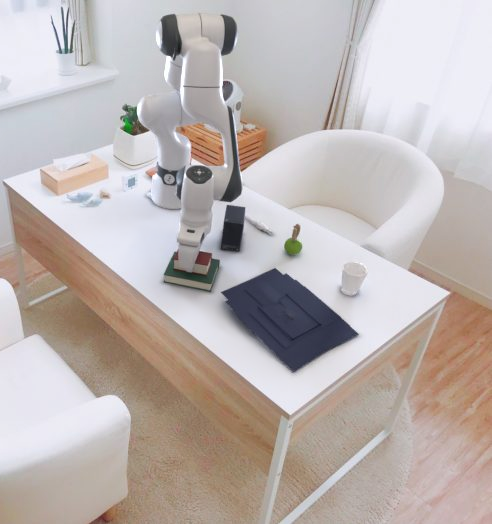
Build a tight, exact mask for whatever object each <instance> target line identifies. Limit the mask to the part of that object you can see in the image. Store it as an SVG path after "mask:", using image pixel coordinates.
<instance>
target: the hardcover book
mask: <svg viewBox="0 0 492 524" xmlns="http://www.w3.org/2000/svg"><path fill="white" fill-rule="evenodd" d="M176 252H177V251H174V252H173V254H172V256H171V257H170V260H169V262H168V264H167V266H166V268H165V270H164V272H163V276H164V279H163V284H164V283H165V284H170V285H173V286H179V287H183V288H189V289H193V290H199V291H204V292H209V293H211V292H212V291H213V290H212V289H213V286H214V284H215V281H216V277H217V275H218V272H219V270H220V263H221V260H220V259H218V258H213V257H212V262H211V266H210V269H209V272H208V274H207V276H204V275H199V274H194V273H189V272H183V271H178V270H173V268H174V257H175V255H176Z"/></svg>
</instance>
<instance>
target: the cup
mask: <svg viewBox="0 0 492 524" xmlns="http://www.w3.org/2000/svg"><path fill="white" fill-rule="evenodd" d="M367 275H368V267H366V265H364V264H363V262H362V263H361V262H357V261H347V262H344V263H342V271H341V289H340V290H341V291H340V292H341V293H342V294H344V295H345V296H351V297H352V296H355V295H357V292H358V291H359V290H360V288H361V287H362V285H363V283H364V281H365V279H366V277H367Z"/></svg>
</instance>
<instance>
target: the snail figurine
mask: <svg viewBox="0 0 492 524" xmlns="http://www.w3.org/2000/svg"><path fill="white" fill-rule="evenodd" d="M300 232H301V224H300V223H296V224H295V225H293V229H292V233H291V237H289V238H287V239H286V240H285V242H284V245H283V247H284V251H285V252H286V253H287V254H288V255H291V256H296V255H298V254H300V253H301V252H302V250H303V243H302V241H301V239H300V238H298V237H299V235H300Z"/></svg>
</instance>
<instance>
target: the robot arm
mask: <svg viewBox="0 0 492 524" xmlns="http://www.w3.org/2000/svg"><path fill="white" fill-rule="evenodd" d="M158 21H159V22H158V25H157V27H156V31H155V40H156V44H157V47H158V50H159V51H160V52H161V53H162V54H163V55H164V56H166V58H165V65H164V73H163V74H164V79H165V82H166V84H167V85H168V86H169V87H171V89H173V90H174V91H165V92H156V93H151V94H149V95H146V96H142V98H140V100H139V101H138V104H137V108H136V115H137V119H138V121H139V122H140V124H141V125H142V126H143V127H144V128H146V129H148V130H149V131H150V132H151V133H152V134H153V136H154V138H155V140H156V143H157V161H156V167H155V168H156V169H155V172H156V173H154V175H152V178H151V188H150V190H149V191H148V192H147V193H146V196H147V198H149V199H151V201H152V202H153V203H154V204H155V205H156V206H158V207H160V208H163V209H167V210H180V211H179V223H178V232H177V236H176V243H178V248H177V250H178V259H179V267H180V268H182V269H186V271H187V272H192V271H193V266H194V263H195V261H196V258H197V256H198V253H199V251H201V250H202V249H201V248H202V246H203V244H204V242H205V238H207V235H210V233H211V232H212V222H213V211H212V210H213V209H212V207H213V205H214V201H218V202H224V203H233V202H234V201H236V200H237V199H238V198H239V197H240V196H241V195H242V192H243V189H244V188H243V187H244V179H243V175H242V172H241V165H240V155H239V146H238V136H237V127H236V120H235V115H234V111H233V109H232V107H231V106H230V105H227V103H226V101H225V98H224V95H223V80H224V79H223V77H224V74H223V73H224V72H223V56H228V55H230V54H231V53H232V52H233V51H234V50H235V48H236V45H237V41H238V35H239V33H238V26H237V22H236V20H235V19H234V17H233V16H230V15H226V14H214V13H205V12H197V13H181V14H179V13H178V14H176V13H170V14H165V15H163V16H162V17H161V18H160V19H159V20H158ZM199 124H205V125H207V126H209V127H211V128H214V129H215V130H216V131H217V132H218V133H219V134H220V137H221V141H222V150H223V159H224V163H223V164H222V165H202V164H192V160H193V157H192V156H191V155H192V143H191V141H190V139H189V138H188V136H185V134H182V133H181V132H177V131H176V130H177V127H185V126H194V125H199Z"/></svg>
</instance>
